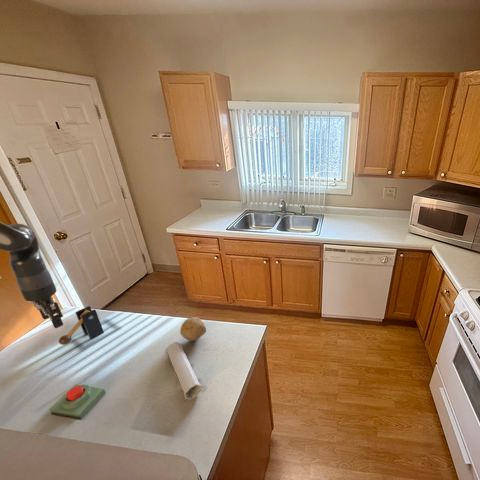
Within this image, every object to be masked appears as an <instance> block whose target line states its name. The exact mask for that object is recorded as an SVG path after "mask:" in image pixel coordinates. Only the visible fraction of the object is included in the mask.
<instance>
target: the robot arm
mask: <svg viewBox="0 0 480 480" xmlns="http://www.w3.org/2000/svg"><path fill="white" fill-rule="evenodd" d="M0 251H3V252H6V253H7V252H8V253H9V260H8V261H9V262H8V263H9V267H10V269H11V271H12V273H13V275H14V277H15V282H16V284H17V287H18V288H19V290H20V292H21V294H22V297H23V299H24V300H25V301H26V302H32V303H33V306H34V308H36V310H37V311H39V313H40V315H41V317H42V320H48V319H49V320H50V321H51V323H52V326H53V328H54V329H58V328H61V327H62V326H64V322H63V319H62V318H63V317H64V314H63V313H62V311H61V309H60V307H59V304H58V302H57V301H56V300H55V299H54V298H53V297H52V296H53V295H55V294H56V293H57V291H58V290H57V287H56V285H55V282H54V280H53V278H52V275H51V272H50V271H49V270H48V268H47V266H46V264H45V261H44V258H43V257H42V255H41V251H40V245H39V241H38V237H37V235H36V232H35V231H34V230H33V228H31V227H30V226H28V225H26V224H24V223H11V224H9V225H8V224H5V223H4V222H2V221H0Z"/></svg>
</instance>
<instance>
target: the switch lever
mask: <svg viewBox="0 0 480 480" xmlns="http://www.w3.org/2000/svg"><path fill="white" fill-rule="evenodd" d="M88 312H90V311H88V310H85V311H84V312H83V313H82V314H81V315H83V314H86V313H88ZM81 315H80V317H81ZM82 323H83V321H82V318H81V319H80V320H78V321H77V322H76V324H75V325H74V326H73V327H72V328H71V329H70V331H69V332H68V333H67V334H64V335H62V336H60V337H59V339H58V343H59V345H62V346H65V345H69V344H70V343H71V342H72V340H73V339H72V336H73V335H75V332H76V331H77V330H78V329H79V328H80V327H81V324H82Z"/></svg>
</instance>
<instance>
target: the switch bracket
mask: <svg viewBox="0 0 480 480" xmlns="http://www.w3.org/2000/svg"><path fill="white" fill-rule="evenodd" d="M85 310H88V311H90V312H88V313H86V314H83V315H81V314H82V313H83V312H84V311H85ZM75 315H76V318H77V320H78V321H79V320H80V319H81V318H82V321H83V323H82V324H81V325H80V327H81V330H82V332H83V334H84V336H85V337H87V336H88V338H89V340H94V339H95V338H97V337H99V336H100V335H103V334H104V333H105V332H104V329H103V326H102V323H101V321H100V318H99V315H98V312H97V310H96V309H92V307H91V306H90V305H88V306H86V307H84V308H81V309H79V310H76V311H75ZM80 315H81V317H80Z"/></svg>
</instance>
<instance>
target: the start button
mask: <svg viewBox="0 0 480 480" xmlns="http://www.w3.org/2000/svg"><path fill="white" fill-rule="evenodd" d="M73 387H74V386H73ZM71 388H72V387H71ZM71 388H70V389H69V390H67V392H66V393H67V394H66V393H65V394H66V396H67V398H68V400H69V401H74V400H76V399H78V398H80V397H81V396H82V395H83V393H84V390H83V388H82V387H81V386H76V387H74V388H72V389H71Z"/></svg>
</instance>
